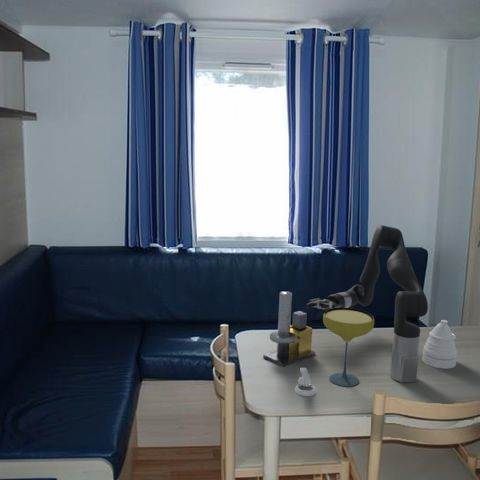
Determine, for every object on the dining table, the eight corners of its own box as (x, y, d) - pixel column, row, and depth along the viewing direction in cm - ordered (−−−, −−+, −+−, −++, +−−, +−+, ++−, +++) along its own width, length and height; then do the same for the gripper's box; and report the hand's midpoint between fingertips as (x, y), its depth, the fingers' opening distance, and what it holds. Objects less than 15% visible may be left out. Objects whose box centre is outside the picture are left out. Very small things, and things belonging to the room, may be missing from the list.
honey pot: (458, 370, 213) (463, 326, 210) (424, 366, 216) (428, 323, 212) (452, 357, 225) (457, 315, 222) (420, 354, 228) (424, 312, 224)
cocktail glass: (373, 375, 206) (378, 312, 201) (363, 395, 190) (369, 327, 185) (326, 366, 213) (330, 304, 208) (313, 384, 197) (317, 318, 192)
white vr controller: (289, 385, 184) (289, 367, 189) (296, 403, 192) (295, 385, 197) (311, 383, 182) (310, 365, 187) (317, 401, 191) (316, 383, 195)
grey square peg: (298, 353, 222) (300, 315, 219) (291, 350, 225) (292, 312, 221) (304, 350, 224) (307, 313, 221) (297, 347, 227) (299, 310, 224)
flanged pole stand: (283, 366, 211) (286, 299, 206) (263, 357, 219) (265, 292, 214) (315, 354, 224) (319, 290, 218) (295, 346, 232) (298, 284, 226)
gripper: (326, 289, 243) (302, 296, 232) (352, 297, 233) (328, 304, 222) (325, 305, 244) (301, 313, 233) (351, 314, 234) (327, 322, 223)
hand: (314, 309), depth 228 cm, fingers open, 8 cm apart
